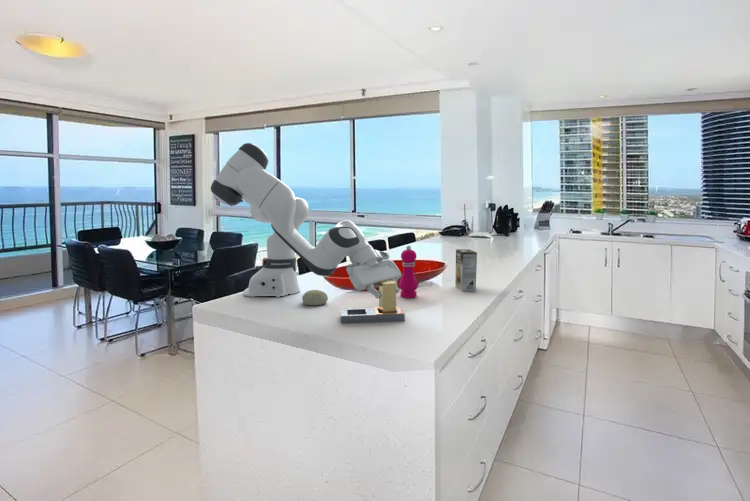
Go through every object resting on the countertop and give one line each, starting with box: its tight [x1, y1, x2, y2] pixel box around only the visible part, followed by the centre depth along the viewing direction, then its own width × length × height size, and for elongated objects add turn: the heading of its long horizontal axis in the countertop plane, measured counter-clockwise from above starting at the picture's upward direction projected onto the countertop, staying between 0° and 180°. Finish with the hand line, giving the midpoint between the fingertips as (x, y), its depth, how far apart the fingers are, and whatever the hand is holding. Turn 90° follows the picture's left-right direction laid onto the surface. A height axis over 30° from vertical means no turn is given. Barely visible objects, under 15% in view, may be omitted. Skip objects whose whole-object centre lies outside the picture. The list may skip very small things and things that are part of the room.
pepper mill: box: [398, 245, 419, 299], centre depth 169 cm, size 7×7×20 cm
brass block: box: [378, 280, 397, 313], centre depth 140 cm, size 4×4×12 cm
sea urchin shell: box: [301, 289, 329, 306], centre depth 160 cm, size 9×8×8 cm
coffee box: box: [455, 248, 478, 292], centre depth 181 cm, size 9×6×16 cm
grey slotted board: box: [340, 306, 406, 324], centre depth 141 cm, size 20×8×3 cm, turn 96°
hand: (388, 294), depth 140 cm, fingers open, 7 cm apart
